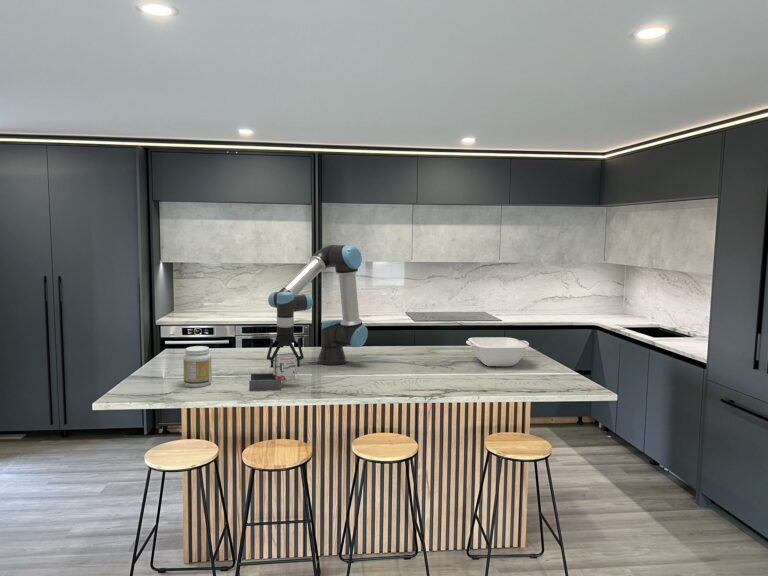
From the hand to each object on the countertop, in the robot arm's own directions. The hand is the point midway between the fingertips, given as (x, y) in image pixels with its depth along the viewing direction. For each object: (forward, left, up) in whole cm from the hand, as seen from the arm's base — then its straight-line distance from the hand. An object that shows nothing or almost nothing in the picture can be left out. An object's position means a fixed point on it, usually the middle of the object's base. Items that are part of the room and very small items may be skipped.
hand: (285, 374), depth 264 cm
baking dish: (-115, -32, -6) cm, 120 cm away
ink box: (0, 0, -3) cm, 3 cm away
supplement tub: (+40, -7, -6) cm, 41 cm away
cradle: (+9, 0, -6) cm, 10 cm away
